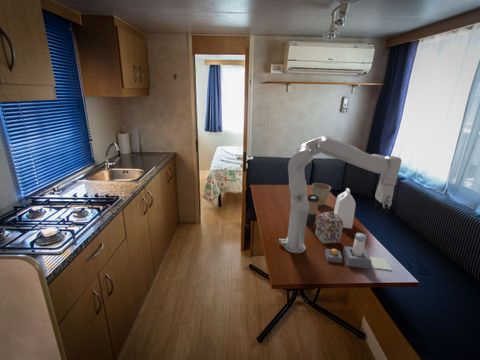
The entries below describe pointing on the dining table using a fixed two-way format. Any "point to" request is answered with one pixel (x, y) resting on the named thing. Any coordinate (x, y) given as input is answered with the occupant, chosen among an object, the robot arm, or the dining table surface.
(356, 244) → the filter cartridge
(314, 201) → the travel mug
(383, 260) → the mat
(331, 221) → the decorative jar
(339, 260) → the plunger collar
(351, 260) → the grey square holder
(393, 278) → the dining table surface
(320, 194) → the plant pot
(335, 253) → the release plunger
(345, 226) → the milk
